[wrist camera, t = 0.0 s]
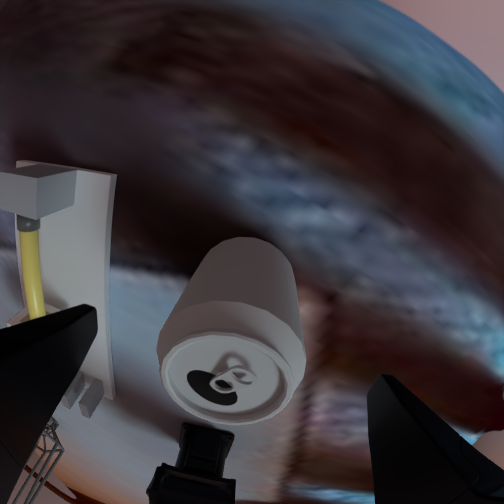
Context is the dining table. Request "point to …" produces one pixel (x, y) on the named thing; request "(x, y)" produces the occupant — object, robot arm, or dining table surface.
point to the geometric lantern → (61, 450)
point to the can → (235, 336)
